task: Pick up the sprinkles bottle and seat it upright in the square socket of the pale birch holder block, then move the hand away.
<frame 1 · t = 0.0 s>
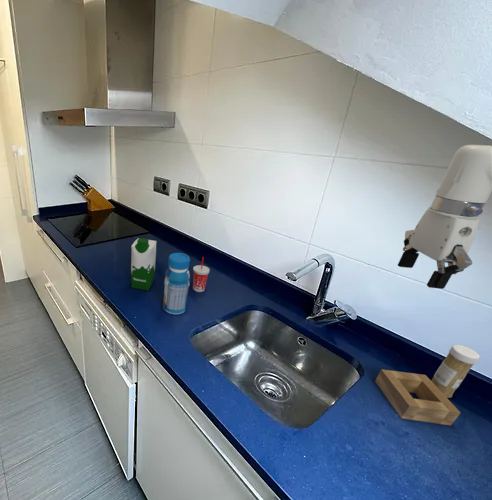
hand: (418, 276, 68), 28 cm above the worktop, tool pointing down, fingers open, 9 cm apart
beverage bottle: (174, 308, 100), on the worktop
milk carton: (142, 284, 113), on the worktop
sprinkles bottle: (438, 391, 72), on the worktop
beverage cup: (198, 289, 111), on the worktop
holder: (409, 402, 69), on the worktop
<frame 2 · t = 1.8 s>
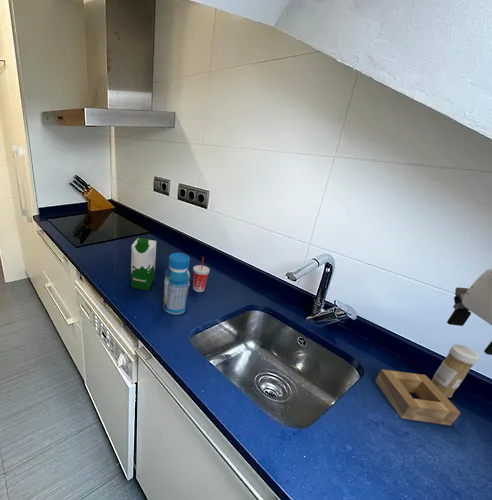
hand: (472, 338, 65), 17 cm above the worktop, tool pointing down, fingers open, 9 cm apart
nothing on the worktop moved.
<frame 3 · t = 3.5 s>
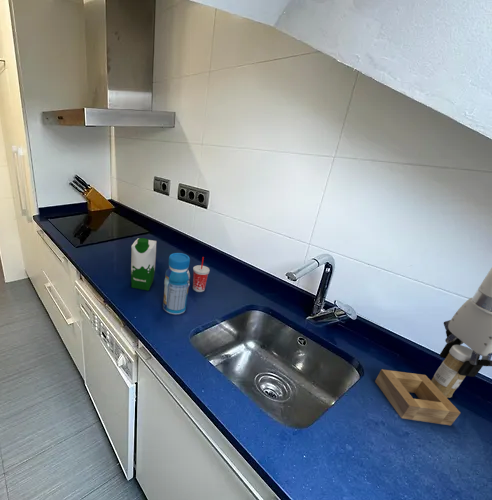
hand: (456, 365, 69), 9 cm above the worktop, tool pointing down, fingers closed on sprinkles bottle, 4 cm apart
sprinkles bottle: (438, 391, 72), on the worktop, touching gripper
everything else where it was.
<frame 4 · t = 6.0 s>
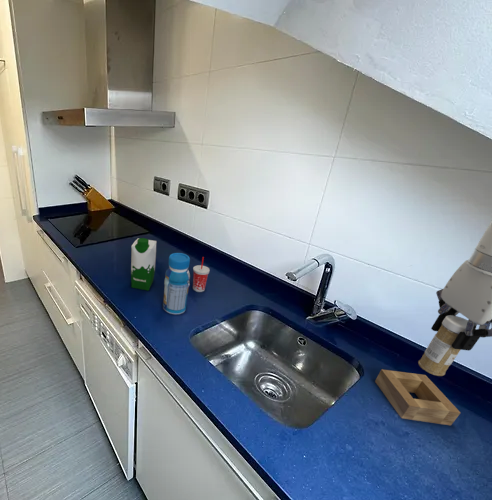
hand: (449, 338, 61), 20 cm above the worktop, tool pointing down, fingers closed on sprinkles bottle, 4 cm apart
sprinkles bottle: (429, 369, 64), point 11 cm above the worktop, touching gripper
everything else where it was.
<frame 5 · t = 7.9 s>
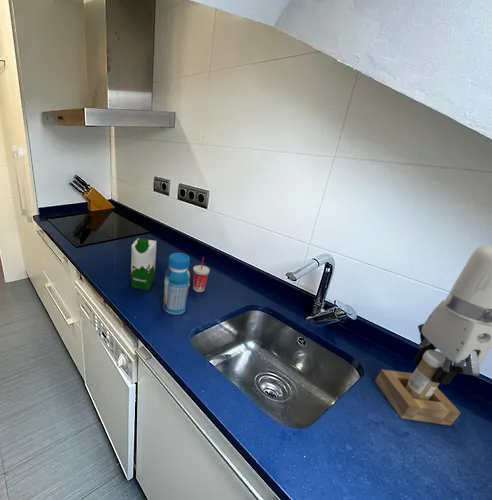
hand: (430, 371, 65), 10 cm above the worktop, tool pointing down, fingers closed on sprinkles bottle, 4 cm apart
sprinkles bottle: (412, 398, 68), point 1 cm above the worktop, touching gripper
everything else where it was.
when the fingers open (9 cm above the worktop, at t = 8.8 s): sprinkles bottle stays where it is, resting in holder.
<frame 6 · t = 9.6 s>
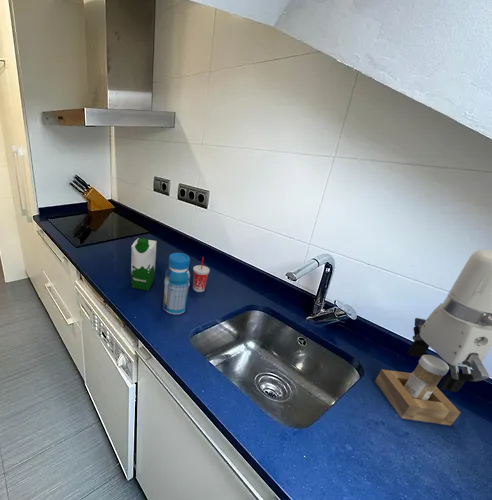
hand: (430, 371, 65), 10 cm above the worktop, tool pointing down, fingers open, 9 cm apart
sprinkles bottle: (409, 402, 69), resting in holder
everything else where it was.
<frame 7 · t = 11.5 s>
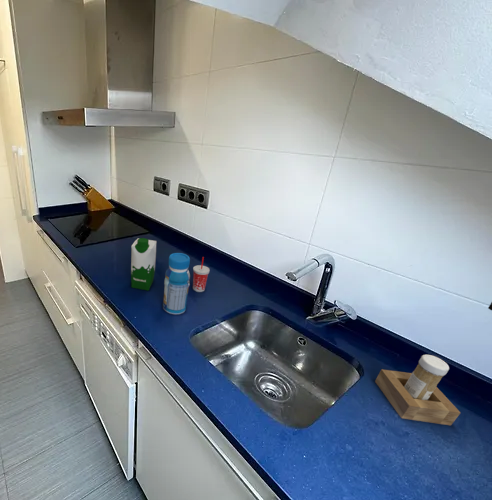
nothing on the worktop moved.
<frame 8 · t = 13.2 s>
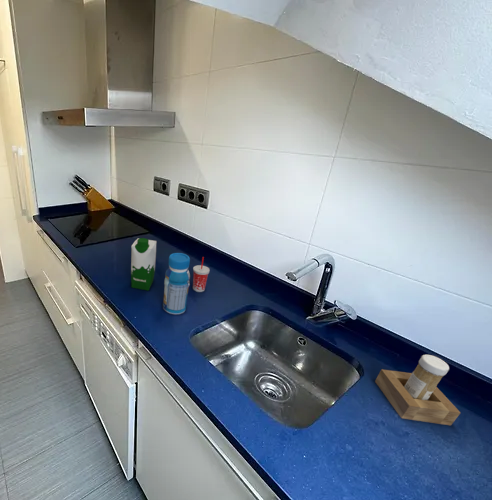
nothing on the worktop moved.
at the end: sprinkles bottle 0.0 cm off-centre in the holder, point 0.0 cm above the holder's base; sprinkles bottle tilted 0°; the gripper is holding nothing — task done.
